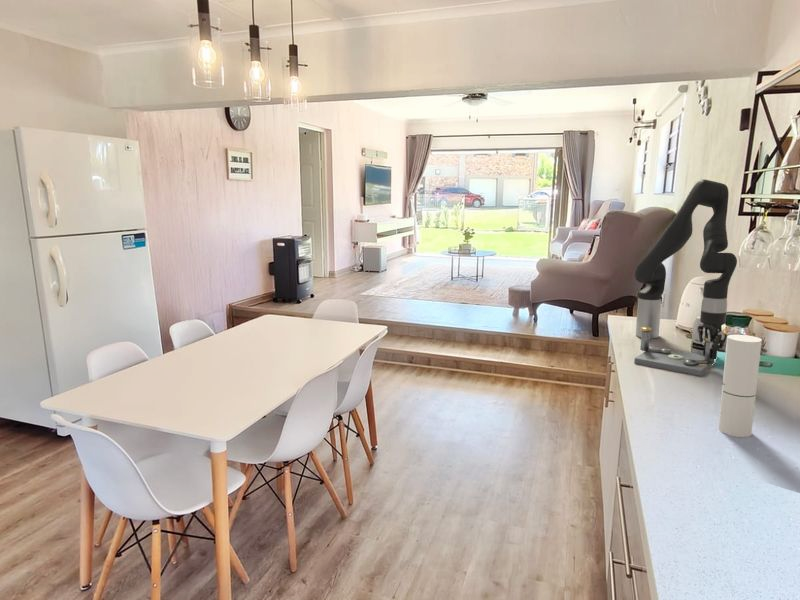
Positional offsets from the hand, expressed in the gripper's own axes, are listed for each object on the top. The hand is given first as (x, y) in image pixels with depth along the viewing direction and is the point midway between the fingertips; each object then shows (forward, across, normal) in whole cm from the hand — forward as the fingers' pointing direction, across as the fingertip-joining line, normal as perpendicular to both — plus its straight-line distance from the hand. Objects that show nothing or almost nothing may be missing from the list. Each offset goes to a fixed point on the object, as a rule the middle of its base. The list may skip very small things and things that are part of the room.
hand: (709, 357), depth 175 cm
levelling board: (+4, +7, +8) cm, 12 cm away
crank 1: (+2, +15, +12) cm, 19 cm away
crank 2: (+2, 0, +4) cm, 4 cm away
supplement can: (+5, +16, -7) cm, 18 cm away
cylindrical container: (+4, -49, +21) cm, 53 cm away
